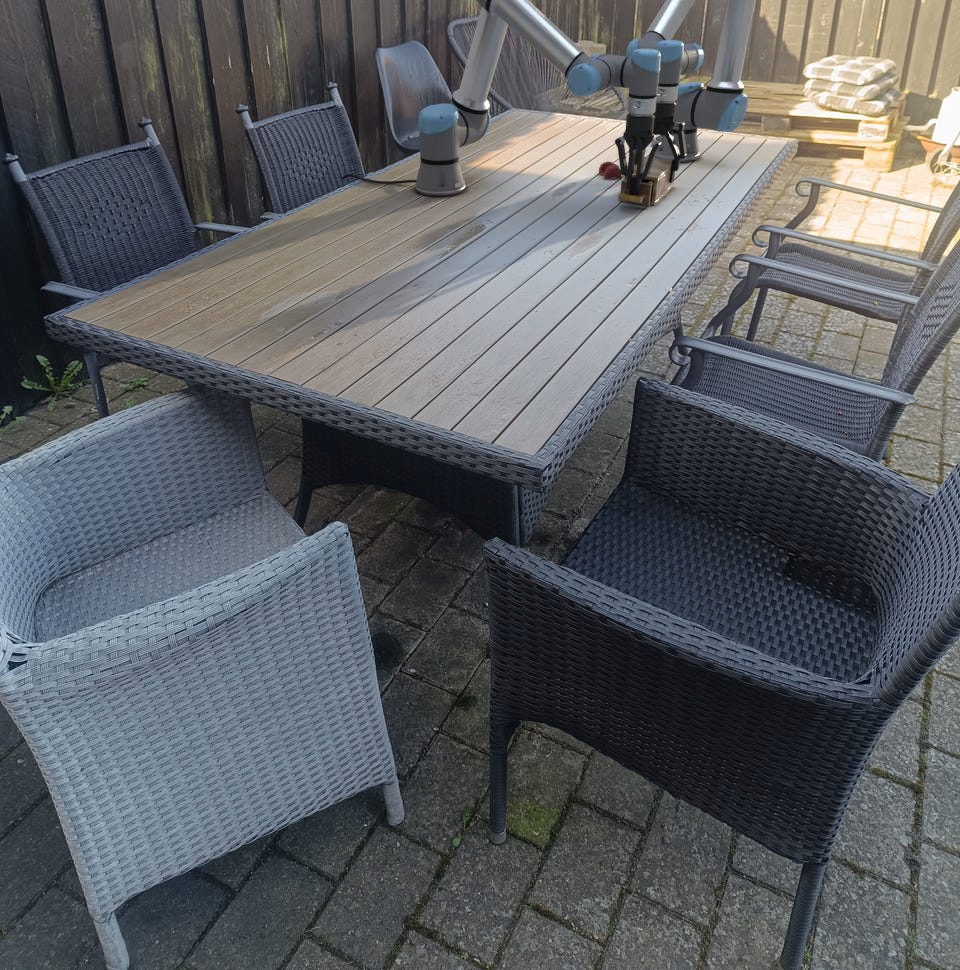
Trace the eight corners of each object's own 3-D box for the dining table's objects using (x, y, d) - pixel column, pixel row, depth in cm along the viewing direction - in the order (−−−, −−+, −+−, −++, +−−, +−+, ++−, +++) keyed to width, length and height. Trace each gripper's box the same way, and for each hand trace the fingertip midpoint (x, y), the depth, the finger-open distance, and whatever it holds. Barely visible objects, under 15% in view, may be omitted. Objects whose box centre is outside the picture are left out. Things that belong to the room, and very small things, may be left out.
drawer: (642, 211, 238) (645, 189, 235) (613, 207, 242) (615, 185, 238) (666, 189, 256) (668, 168, 252) (638, 185, 259) (640, 165, 255)
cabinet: (654, 205, 246) (657, 177, 241) (621, 201, 249) (624, 173, 245) (672, 187, 260) (676, 160, 255) (641, 183, 264) (644, 157, 259)
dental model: (614, 158, 272) (623, 164, 265) (613, 171, 274) (622, 178, 268) (597, 159, 271) (606, 166, 264) (597, 173, 273) (606, 180, 267)
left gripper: (613, 114, 227) (606, 202, 241) (660, 118, 223) (650, 208, 236) (622, 108, 233) (614, 194, 247) (668, 112, 228) (657, 200, 242)
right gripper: (622, 99, 245) (615, 177, 258) (698, 107, 237) (687, 187, 250) (630, 94, 251) (623, 171, 264) (705, 102, 243) (694, 180, 256)
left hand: (632, 201), depth 241 cm, fingers closed
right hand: (654, 179), depth 257 cm, fingers closed on cabinet, 10 cm apart
